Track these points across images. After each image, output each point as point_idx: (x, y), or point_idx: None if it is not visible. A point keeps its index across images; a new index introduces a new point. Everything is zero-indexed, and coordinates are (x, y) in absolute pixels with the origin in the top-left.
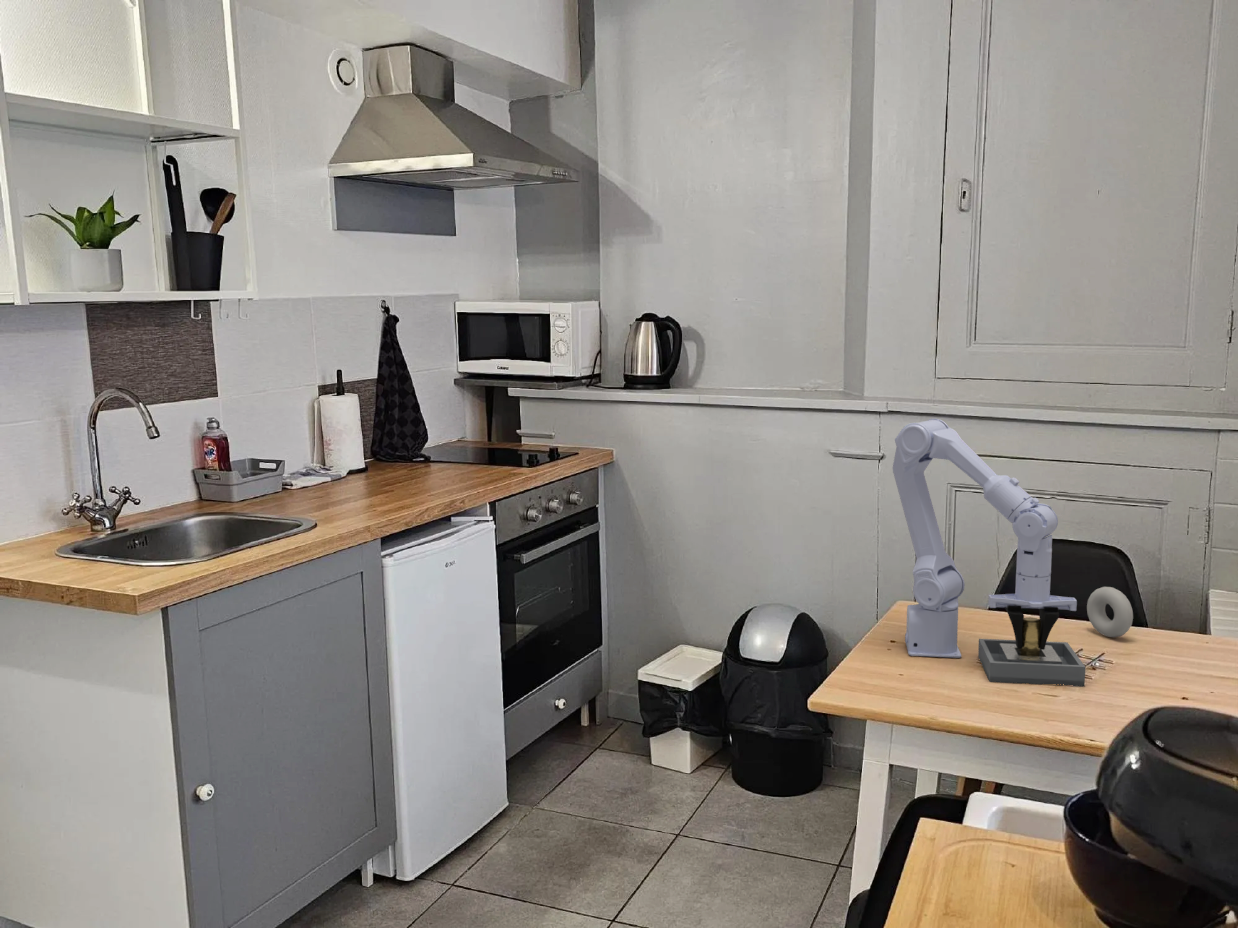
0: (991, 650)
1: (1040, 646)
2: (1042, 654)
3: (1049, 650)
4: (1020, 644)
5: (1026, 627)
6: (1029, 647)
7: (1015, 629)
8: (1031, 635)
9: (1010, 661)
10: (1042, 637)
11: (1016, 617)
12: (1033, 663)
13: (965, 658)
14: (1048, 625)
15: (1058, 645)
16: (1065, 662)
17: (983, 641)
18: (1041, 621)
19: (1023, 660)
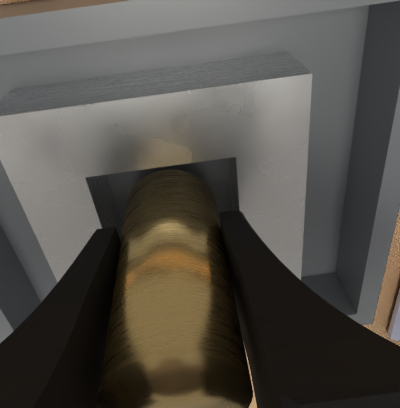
0: (309, 284)
1: (115, 240)
2: None
3: None
4: (233, 220)
5: (213, 314)
6: (178, 211)
7: (298, 279)
8: (171, 266)
9: (290, 72)
10: (95, 270)
11: (354, 359)
12: (155, 24)
13: (393, 240)
14: (26, 348)
15: None
16: (27, 260)
17: (363, 300)
18: (97, 405)
19: (215, 84)
